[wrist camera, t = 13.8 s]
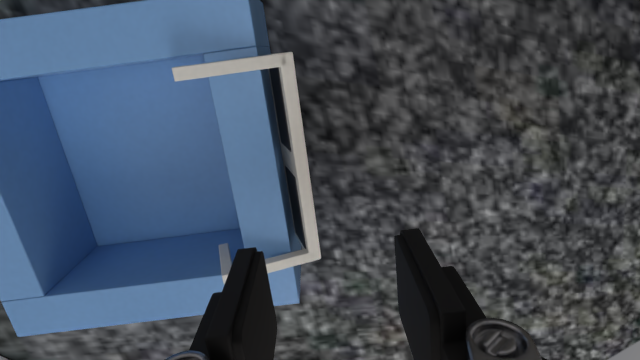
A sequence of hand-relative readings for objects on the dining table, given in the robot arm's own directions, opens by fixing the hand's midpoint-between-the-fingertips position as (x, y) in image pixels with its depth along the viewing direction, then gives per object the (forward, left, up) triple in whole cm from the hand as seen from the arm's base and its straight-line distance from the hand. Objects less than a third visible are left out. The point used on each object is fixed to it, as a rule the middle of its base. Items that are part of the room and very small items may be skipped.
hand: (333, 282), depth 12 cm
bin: (0, -13, -20) cm, 23 cm away
